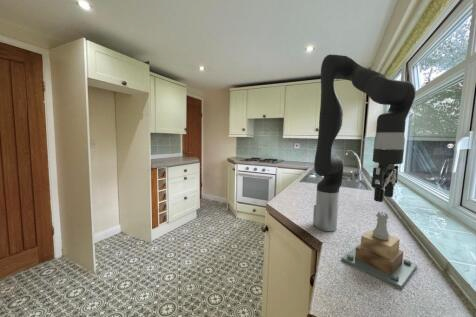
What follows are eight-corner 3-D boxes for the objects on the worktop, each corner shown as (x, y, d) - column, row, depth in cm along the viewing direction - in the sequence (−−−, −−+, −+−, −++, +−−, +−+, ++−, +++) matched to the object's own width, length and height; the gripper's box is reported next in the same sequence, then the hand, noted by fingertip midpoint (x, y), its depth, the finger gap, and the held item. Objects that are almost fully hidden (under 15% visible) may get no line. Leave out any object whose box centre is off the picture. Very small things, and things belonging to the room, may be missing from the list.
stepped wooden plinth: (355, 258, 66) (356, 235, 65) (367, 249, 72) (369, 227, 71) (391, 275, 58) (394, 249, 57) (402, 263, 64) (404, 239, 63)
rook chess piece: (373, 232, 68) (375, 209, 67) (389, 237, 65) (391, 213, 64) (371, 237, 64) (373, 213, 63) (388, 242, 61) (391, 217, 60)
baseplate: (341, 260, 67) (341, 255, 67) (361, 245, 76) (362, 241, 76) (400, 289, 54) (401, 283, 54) (416, 267, 64) (417, 262, 63)
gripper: (382, 146, 69) (378, 193, 70) (365, 147, 60) (360, 199, 62) (410, 148, 63) (405, 198, 64) (395, 148, 54) (389, 206, 56)
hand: (383, 198), depth 63 cm, fingers open, 8 cm apart
